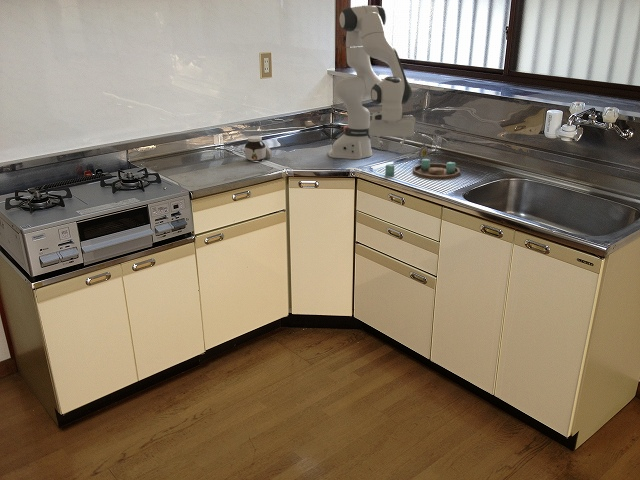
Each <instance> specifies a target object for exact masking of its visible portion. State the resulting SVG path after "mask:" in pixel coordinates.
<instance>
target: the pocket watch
mask: <svg viewBox="0 0 640 480" xmlns="http://www.w3.org/2000/svg"><path fill="white" fill-rule="evenodd" d="M426 143H427V142H426V141H422V143H421V144H422V145H423V146H421V147H420V149H419V152H418V158H419V159H420V161H422V159H427V157H428V155H429V148H428V147H427V146H425V145H426ZM428 159H429V158H428ZM429 160H430V162H432V163H436V160H435V159H431V158H430V159H429Z"/></svg>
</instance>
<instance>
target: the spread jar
mask: <svg viewBox="0 0 640 480" xmlns="http://www.w3.org/2000/svg"><path fill="white" fill-rule="evenodd" d="M272 156H273V152H272V150H271V148H270V147H269V146H267V145H266V144H265V142H264V141H263V140H262V136H260V135H251V136H248V137H247V141H246V142H245V145H244V158H245V160H247V161H248V162H250V161H261V162H263V161H264V160H265V159H271V158H272ZM262 160H263V161H262Z"/></svg>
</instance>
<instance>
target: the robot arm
mask: <svg viewBox="0 0 640 480" xmlns="http://www.w3.org/2000/svg"><path fill="white" fill-rule="evenodd" d="M386 22H387V13H386V10H385V9H384V7H383V6H380V5H361V6H360V5H358V6H353V7H350V6H349V7H345V8H343V9H342V10H341V12H339V24H340V28H341V30H343V31H345V32H346V36H345V37H346V39H345V48H346V49H345V50H346V64H347V66H348V67H350V68H352V69H353V70H354V71H355V73H356V76H352V77H351V76H350V77H349V76H348V77H345V78H342V79H339V80H338V81H337V82H336V83H335V86H334V93H335V95H336V97H337V98H338V100H340V101H342V103H343V104H344V106H345V108H346V111H347V125H344V127H343V134H342V135H341V136H340V137H338V138H337V139H336V140H335V141H333V145H332V149H330V150H329V151H328V152H327V153H328V157H329V158H334V159H335V158H336V159H337V158H338V159H348V160H349V159H350V160H361V159H364V158H368V157H369V158H370V157H372V156H373V151H372V145H371V137H376V140H377V143H378V147H383V141H381V140H380V139H381V138H380V137H402V141H400V142H399V147H404V143H405V142H406V140H407V138H408V137H411V138H412V137H413V136H414V135H415V125H416V123H417V122H416V119H417V118H416V117H415V115H414V116H413V115H411V114H408V115H407V114H403V105H405V104H406V103H408V102H409V101H410V100H411V97H412V95H413V94H412V93H413V92H412V87H411V85H410V82H409V81H408V79H407V77H406V74H405V71H404V68H403V65H402V62H401V59H400V57H399V55H398V52H397V49H396V48H395V47H393V46H392V45H391V44H390V42H389V40H388V39H387V33H386V30H385V25H386ZM371 58H372V59H375V60H378V61H381V62H383V63H385V64H386V65H387V66H388V67H389V68H390V71H391V74H392V76H389V75H388V76H386V77H384V78H383V80H382V78H381V77H379V75H377V74H376V73H375V71H374V69H373V66H372V64H371ZM366 99H371V101H372V102H373V103H374V104H375V105H378V106H379V105H381V110H379V111H375V112H373V113H372V115H371V113H370V112H371V111H370V110H369V109H368V108H367V107H365V106H363V103H362V100H366Z"/></svg>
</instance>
